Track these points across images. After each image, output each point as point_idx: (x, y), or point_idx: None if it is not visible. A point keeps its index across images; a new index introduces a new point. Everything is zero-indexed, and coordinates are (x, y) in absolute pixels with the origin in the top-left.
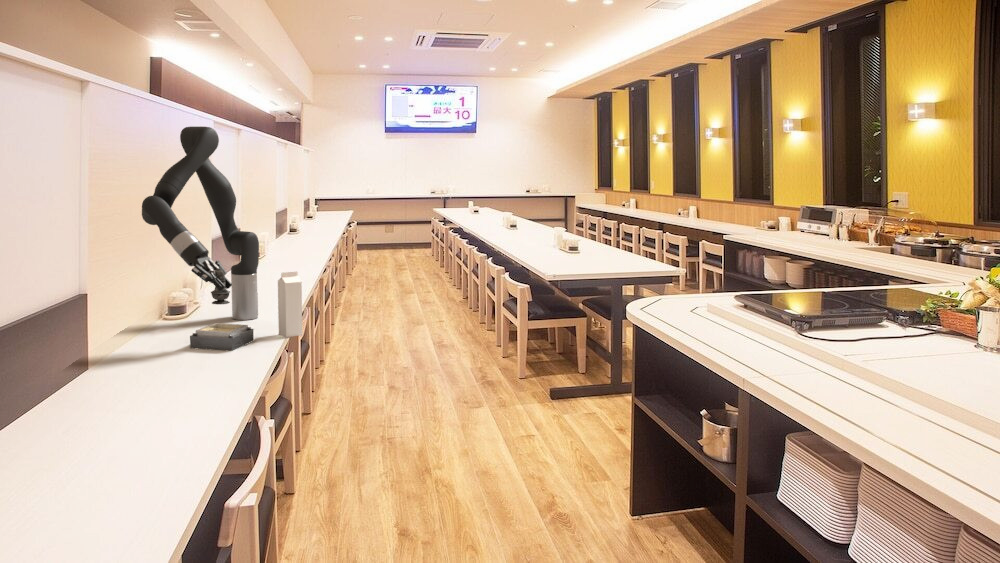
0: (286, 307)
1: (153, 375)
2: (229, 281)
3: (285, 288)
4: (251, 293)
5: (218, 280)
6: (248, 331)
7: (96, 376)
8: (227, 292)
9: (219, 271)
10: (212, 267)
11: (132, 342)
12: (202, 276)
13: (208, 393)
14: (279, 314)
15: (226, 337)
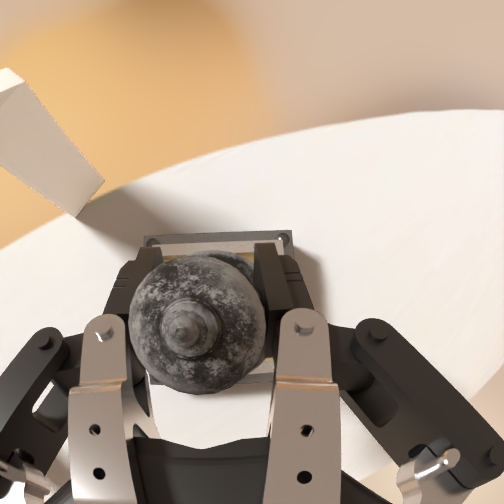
0: (66, 135)
1: (472, 282)
2: (136, 263)
3: (34, 95)
4: None
5: (288, 288)
6: (178, 234)
7: (487, 363)
8: (221, 254)
9: (257, 294)
10: (178, 473)
11: None
12: (386, 413)
13: (478, 156)
14: (49, 190)
15: (285, 253)
